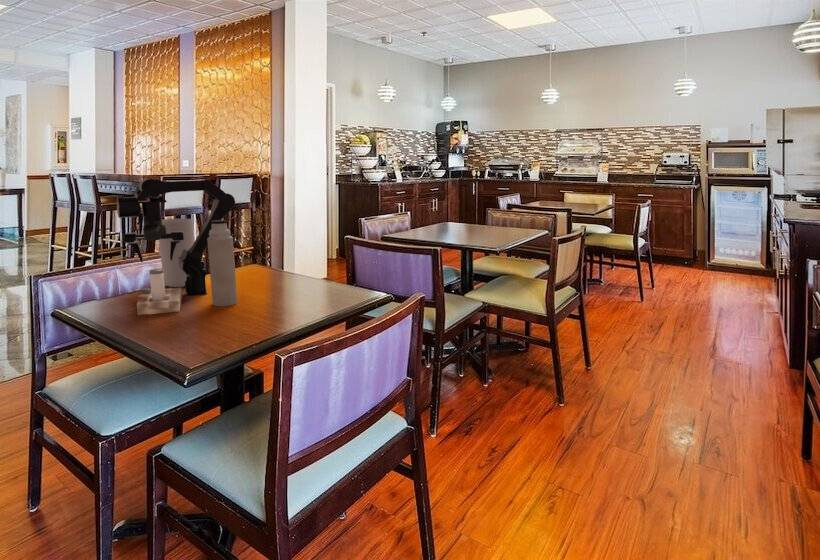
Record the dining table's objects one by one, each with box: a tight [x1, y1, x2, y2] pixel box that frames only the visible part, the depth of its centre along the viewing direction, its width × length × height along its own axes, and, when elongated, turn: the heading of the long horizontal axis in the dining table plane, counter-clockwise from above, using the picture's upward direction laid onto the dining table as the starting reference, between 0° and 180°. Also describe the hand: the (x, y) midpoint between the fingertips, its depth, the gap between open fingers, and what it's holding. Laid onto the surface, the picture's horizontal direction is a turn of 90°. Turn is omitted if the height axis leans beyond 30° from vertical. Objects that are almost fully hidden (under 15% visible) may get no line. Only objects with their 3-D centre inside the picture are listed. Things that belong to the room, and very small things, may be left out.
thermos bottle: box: [207, 219, 238, 307], centre depth 180 cm, size 8×8×28 cm
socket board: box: [136, 287, 183, 316], centre depth 179 cm, size 12×20×5 cm, turn 20°
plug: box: [148, 268, 166, 302], centre depth 174 cm, size 4×4×13 cm
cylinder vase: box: [158, 218, 196, 288], centre depth 209 cm, size 12×12×25 cm
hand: (156, 261), depth 187 cm, fingers open, 9 cm apart
